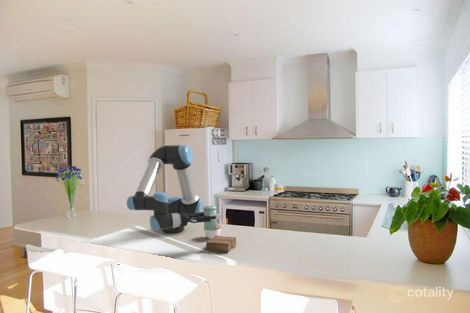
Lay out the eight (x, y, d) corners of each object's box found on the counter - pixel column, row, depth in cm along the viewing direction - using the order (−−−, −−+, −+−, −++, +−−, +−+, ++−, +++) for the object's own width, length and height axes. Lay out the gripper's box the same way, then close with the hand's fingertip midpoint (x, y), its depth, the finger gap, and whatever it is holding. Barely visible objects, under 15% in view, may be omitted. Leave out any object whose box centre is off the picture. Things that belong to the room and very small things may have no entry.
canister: (207, 226, 202) (206, 205, 201) (219, 227, 199) (218, 206, 198) (201, 229, 194) (200, 208, 194) (213, 230, 192) (213, 208, 191)
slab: (215, 244, 206) (215, 235, 206) (236, 245, 202) (235, 237, 202) (206, 250, 194) (206, 242, 194) (228, 253, 190) (227, 244, 189)
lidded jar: (210, 241, 211) (209, 226, 210) (201, 237, 220) (200, 223, 219) (224, 238, 217) (224, 223, 217) (215, 234, 226) (214, 220, 225)
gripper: (175, 222, 198) (212, 218, 207) (184, 230, 180) (225, 225, 189) (174, 209, 198) (212, 205, 207) (183, 216, 180) (224, 211, 189)
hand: (218, 215), depth 198 cm, fingers closed on canister, 7 cm apart
